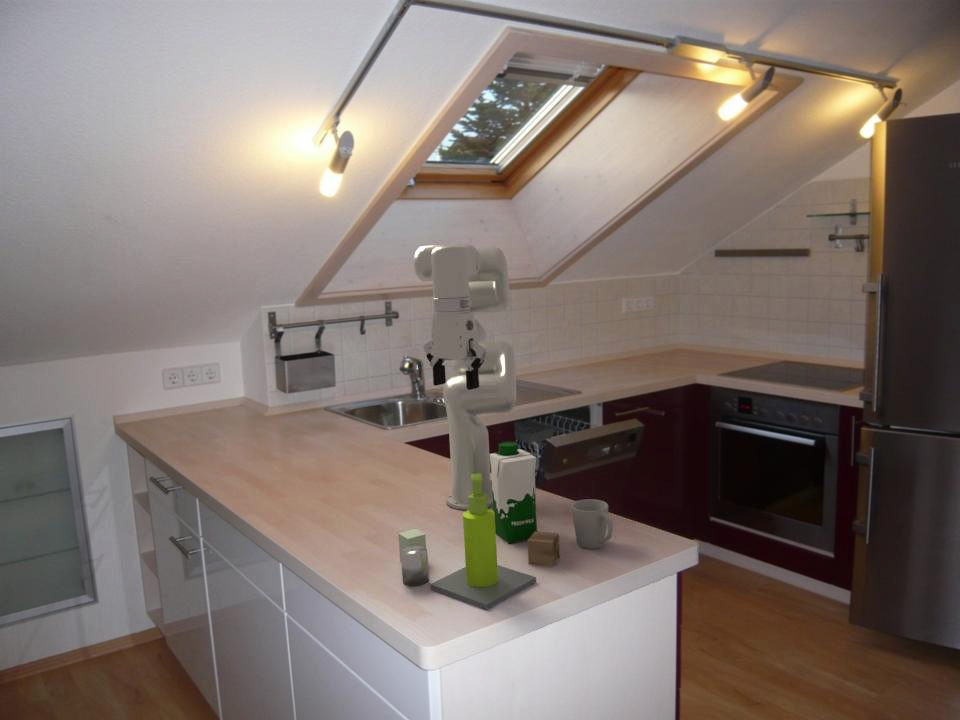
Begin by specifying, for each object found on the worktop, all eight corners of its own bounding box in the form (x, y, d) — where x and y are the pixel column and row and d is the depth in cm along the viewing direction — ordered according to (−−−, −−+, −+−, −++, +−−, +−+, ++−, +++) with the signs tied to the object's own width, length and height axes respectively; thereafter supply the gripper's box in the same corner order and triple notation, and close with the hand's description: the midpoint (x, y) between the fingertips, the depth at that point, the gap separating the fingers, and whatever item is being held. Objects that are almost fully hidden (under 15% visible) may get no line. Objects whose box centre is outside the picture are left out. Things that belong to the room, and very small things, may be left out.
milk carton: (524, 525, 179) (521, 438, 176) (543, 538, 171) (540, 447, 168) (489, 532, 176) (484, 444, 173) (506, 546, 168) (502, 454, 165)
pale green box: (417, 556, 165) (415, 528, 164) (426, 562, 162) (425, 534, 161) (400, 561, 163) (398, 533, 162) (409, 567, 159) (407, 539, 159)
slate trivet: (480, 564, 159) (480, 559, 159) (536, 582, 150) (536, 577, 150) (430, 589, 149) (430, 584, 149) (486, 610, 140) (486, 604, 140)
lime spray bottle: (496, 570, 153) (491, 469, 150) (499, 586, 147) (493, 480, 144) (466, 572, 153) (460, 471, 150) (467, 588, 146) (460, 483, 143)
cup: (591, 534, 172) (591, 496, 171) (625, 548, 164) (624, 508, 163) (565, 543, 168) (563, 504, 167) (597, 558, 160) (596, 517, 158)
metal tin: (416, 573, 157) (414, 544, 156) (434, 579, 153) (432, 549, 152) (397, 582, 153) (395, 552, 152) (415, 588, 150) (413, 558, 149)
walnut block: (535, 554, 163) (535, 531, 162) (559, 557, 161) (558, 533, 161) (528, 564, 159) (527, 540, 158) (552, 567, 157) (552, 542, 156)
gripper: (495, 305, 164) (498, 387, 166) (435, 303, 175) (439, 380, 178) (470, 308, 158) (474, 393, 161) (410, 306, 170) (415, 385, 172)
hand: (456, 386), depth 169 cm, fingers open, 9 cm apart
